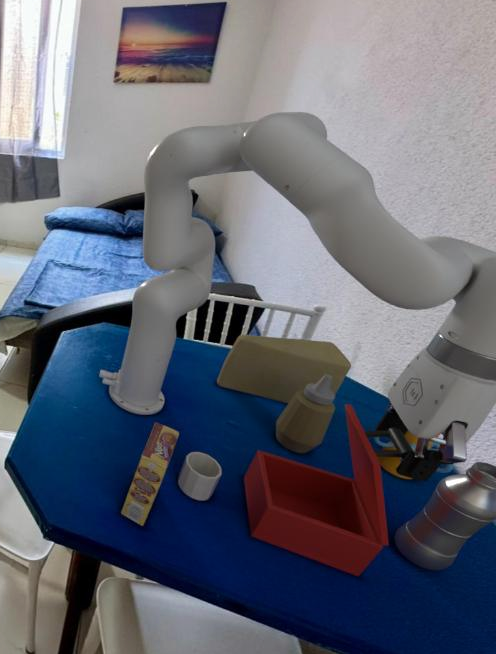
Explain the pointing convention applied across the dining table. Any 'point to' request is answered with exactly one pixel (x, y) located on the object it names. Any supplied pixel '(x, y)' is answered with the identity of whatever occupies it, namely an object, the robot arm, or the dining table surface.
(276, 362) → the cheese
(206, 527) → the dining table surface
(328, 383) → the squeeze bottle
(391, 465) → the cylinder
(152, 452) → the candy box
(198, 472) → the container
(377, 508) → the red box lid
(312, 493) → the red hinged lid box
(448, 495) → the silver metal bottle
